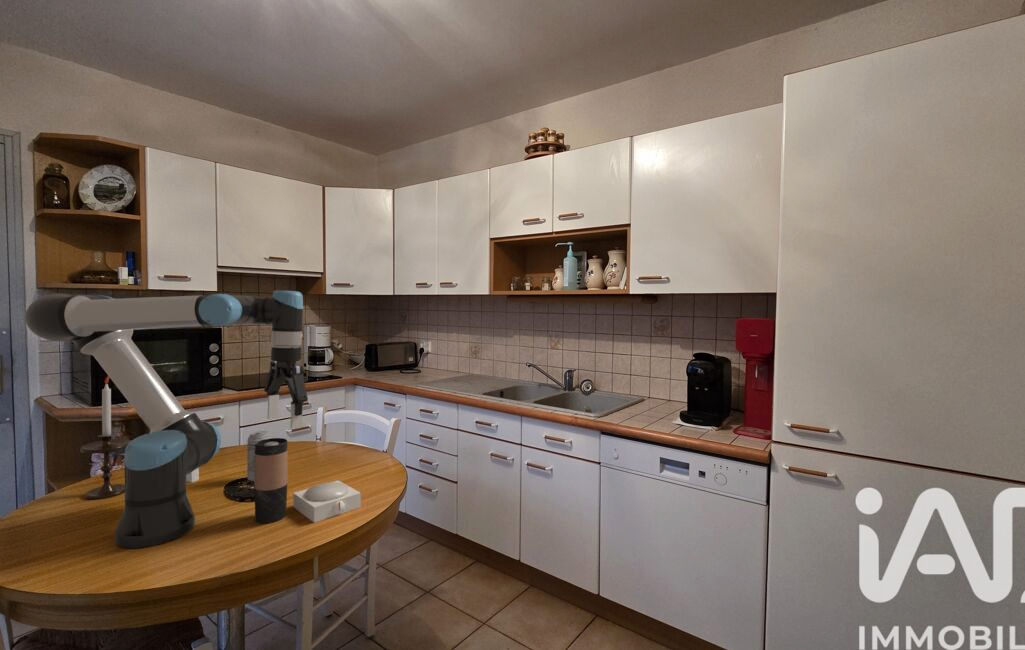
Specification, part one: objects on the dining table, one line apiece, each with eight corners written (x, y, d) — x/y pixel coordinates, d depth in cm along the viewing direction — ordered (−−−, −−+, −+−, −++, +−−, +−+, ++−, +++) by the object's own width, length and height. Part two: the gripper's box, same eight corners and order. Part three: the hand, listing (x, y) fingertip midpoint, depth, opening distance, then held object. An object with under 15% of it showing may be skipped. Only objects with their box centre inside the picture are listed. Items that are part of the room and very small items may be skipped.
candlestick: (141, 486, 135) (140, 371, 134) (108, 501, 124) (107, 376, 123) (105, 485, 135) (105, 370, 134) (69, 500, 124) (68, 375, 123)
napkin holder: (206, 482, 140) (206, 464, 140) (160, 491, 133) (160, 472, 133) (203, 468, 152) (203, 452, 152) (161, 475, 145) (161, 458, 145)
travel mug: (293, 515, 119) (294, 440, 118) (264, 527, 112) (265, 448, 112) (276, 508, 123) (276, 436, 122) (247, 519, 116) (248, 443, 115)
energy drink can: (273, 477, 145) (273, 431, 144) (258, 484, 139) (258, 436, 138) (257, 475, 146) (258, 429, 146) (242, 481, 140) (242, 434, 140)
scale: (315, 523, 114) (315, 505, 114) (293, 507, 124) (293, 490, 123) (361, 507, 124) (362, 490, 124) (338, 493, 133) (338, 477, 133)
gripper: (323, 349, 119) (320, 428, 120) (279, 342, 134) (277, 412, 135) (295, 350, 113) (292, 433, 114) (252, 343, 128) (250, 416, 129)
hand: (284, 422), depth 124 cm, fingers open, 13 cm apart
